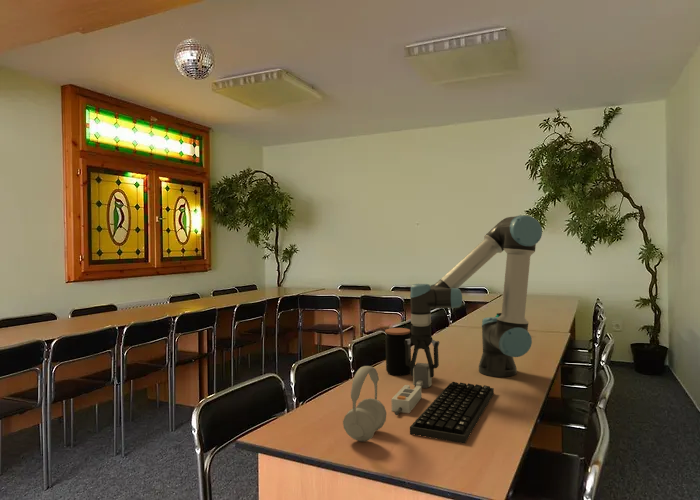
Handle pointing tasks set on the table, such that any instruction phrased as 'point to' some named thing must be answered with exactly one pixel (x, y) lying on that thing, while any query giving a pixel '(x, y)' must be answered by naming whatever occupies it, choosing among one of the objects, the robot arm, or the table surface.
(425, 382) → the charger
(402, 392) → the strip
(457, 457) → the table surface
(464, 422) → the computer keyboard
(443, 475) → the table surface
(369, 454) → the table surface
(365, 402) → the headphones
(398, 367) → the coffee jar
